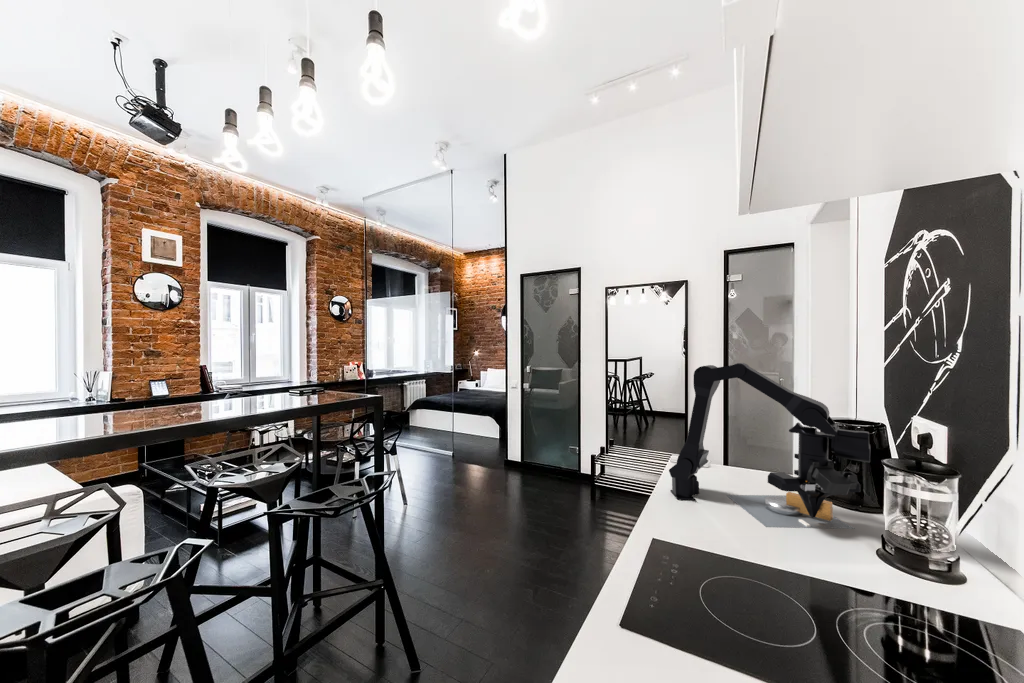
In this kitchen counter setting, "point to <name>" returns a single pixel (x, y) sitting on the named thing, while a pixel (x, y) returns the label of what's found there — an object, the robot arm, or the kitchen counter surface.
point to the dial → (796, 506)
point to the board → (771, 519)
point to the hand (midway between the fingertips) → (812, 516)
